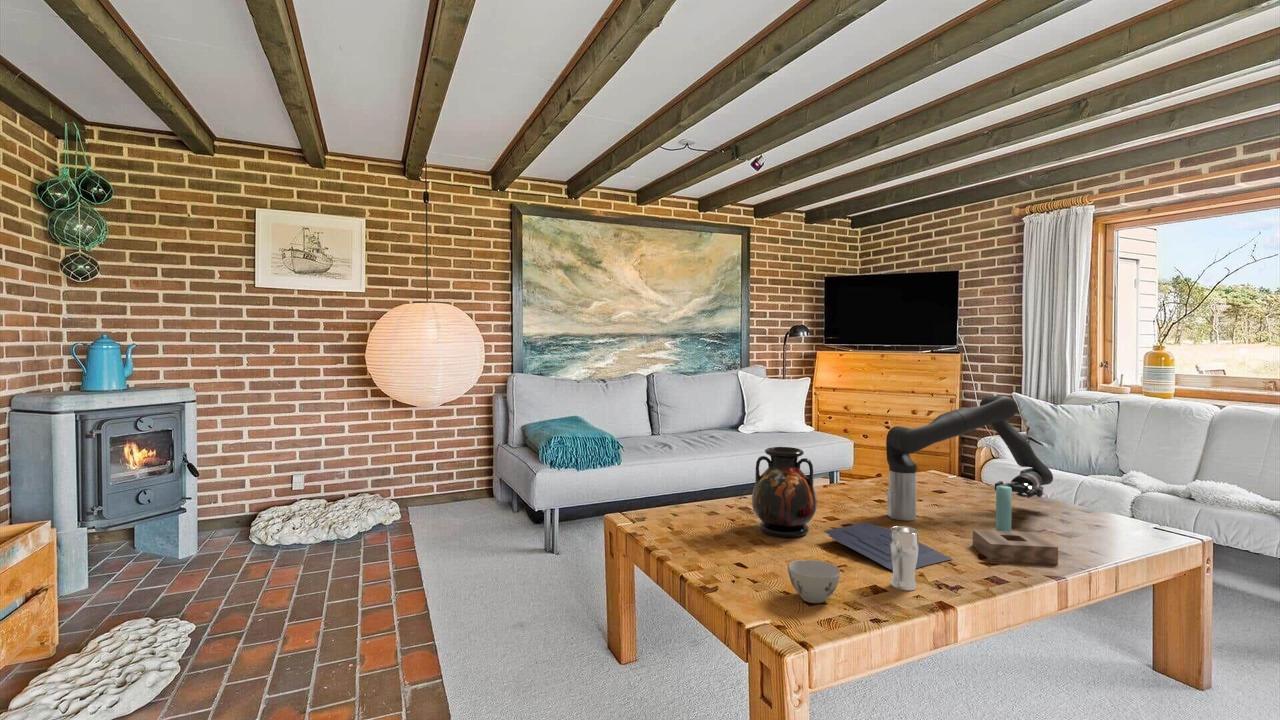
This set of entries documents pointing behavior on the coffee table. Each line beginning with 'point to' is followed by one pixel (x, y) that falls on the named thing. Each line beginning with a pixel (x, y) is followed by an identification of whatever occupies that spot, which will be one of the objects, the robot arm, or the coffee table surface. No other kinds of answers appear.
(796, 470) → the amphora vase
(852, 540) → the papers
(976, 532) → the walnut block
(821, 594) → the teacup
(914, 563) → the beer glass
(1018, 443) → the robot arm
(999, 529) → the teal pin
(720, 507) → the coffee table surface
